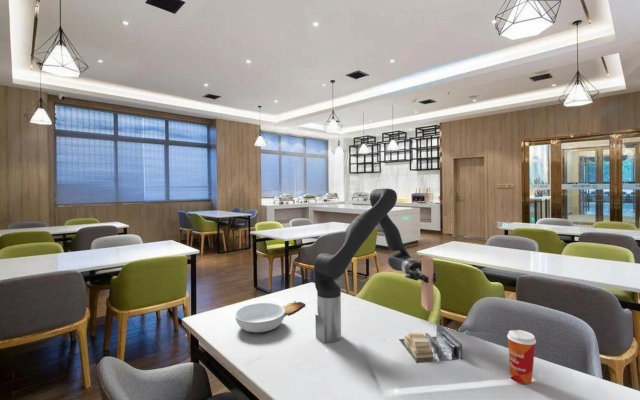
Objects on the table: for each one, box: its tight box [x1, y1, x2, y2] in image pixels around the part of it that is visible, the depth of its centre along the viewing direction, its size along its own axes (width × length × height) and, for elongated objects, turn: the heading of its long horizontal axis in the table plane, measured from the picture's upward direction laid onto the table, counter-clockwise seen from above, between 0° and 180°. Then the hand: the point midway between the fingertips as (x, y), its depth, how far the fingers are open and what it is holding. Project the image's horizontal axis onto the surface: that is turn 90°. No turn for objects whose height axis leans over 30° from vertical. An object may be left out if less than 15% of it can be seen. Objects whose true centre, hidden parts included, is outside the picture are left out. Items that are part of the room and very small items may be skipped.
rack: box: [398, 323, 464, 364], centre depth 119 cm, size 17×16×6 cm
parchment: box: [282, 300, 306, 317], centre depth 160 cm, size 25×10×1 cm, turn 146°
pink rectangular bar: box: [420, 255, 434, 312], centre depth 128 cm, size 6×2×20 cm, turn 7°
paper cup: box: [506, 329, 537, 385], centre depth 101 cm, size 8×8×14 cm
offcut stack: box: [403, 331, 433, 358], centre depth 118 cm, size 11×6×5 cm, turn 7°
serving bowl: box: [234, 302, 285, 333], centre depth 141 cm, size 21×21×7 cm
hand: (431, 280), depth 125 cm, fingers closed on pink rectangular bar, 2 cm apart
